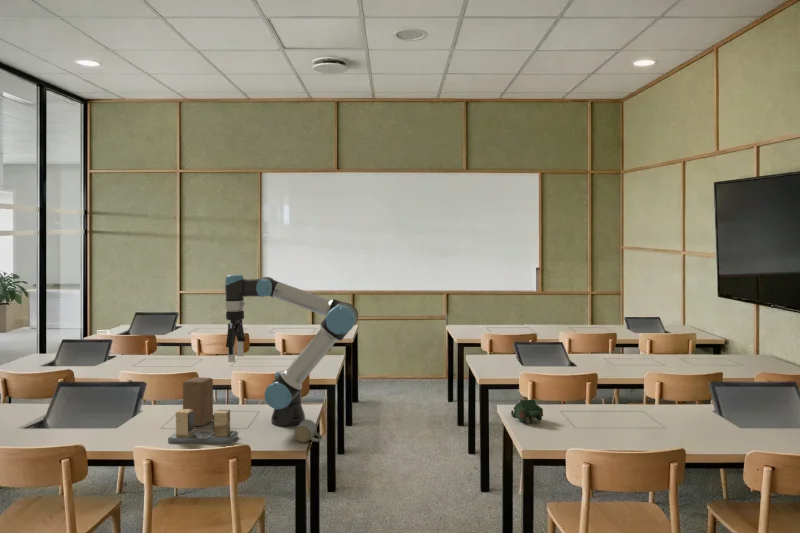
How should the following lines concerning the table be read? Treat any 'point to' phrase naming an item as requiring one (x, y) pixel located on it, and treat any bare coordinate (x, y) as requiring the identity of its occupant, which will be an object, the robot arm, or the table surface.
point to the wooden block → (199, 399)
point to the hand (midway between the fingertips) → (236, 359)
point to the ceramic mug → (307, 432)
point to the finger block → (221, 423)
